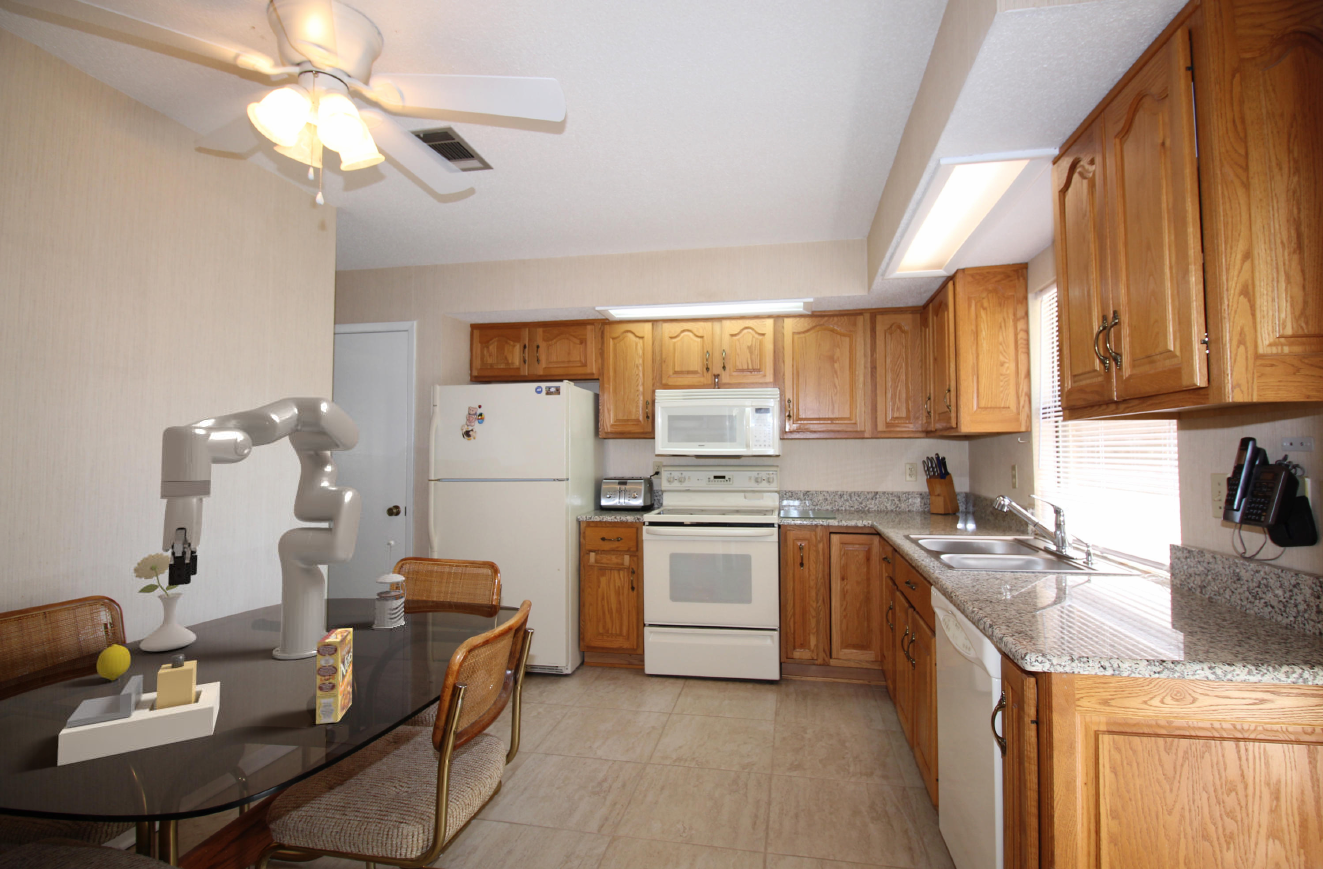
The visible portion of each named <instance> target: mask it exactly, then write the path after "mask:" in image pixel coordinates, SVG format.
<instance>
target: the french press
mask: <svg viewBox="0 0 1323 869" xmlns="http://www.w3.org/2000/svg"><path fill="white" fill-rule="evenodd" d="M394 545H395V541H394V540H390V541H388V542H387V546H389V548H390V549H389V550H390V552H389V557H390V558H389V560H390V561H389V573H386V574H383V575H380V576H379V577H377V578H376V579H375V580H374V581H375V583H377V584H389V586H391V585H392V584H394V585H395V587H399V589H400V590H398V589H396V590H391V589H389V590H383V591H379V592H377V593H376V596H377V597H376V598H375V601H374V602H375V603H374V604H375V605H374V607H375V609H374V624H373V625H372V626H373V627H374V628H393V627H397V626H400V625H404V624H405V622H406V621H405V620H404V619H405V618H404V617H405V616H404V614H405V611H404V610H405V609H404V606H405V600H406V597H407V588H406V584H405V582H404V581H405V580H406V578H405V577H404V576H403V575H401V574H398V573H392V563H391V562H392V546H394ZM402 583H403V587H404V592H403V590H402V587H401V585H402ZM397 584H398V585H397ZM403 593H404V595H403ZM397 597H398V599H397Z"/></svg>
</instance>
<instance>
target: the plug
mask: <svg viewBox="0 0 1323 869" xmlns="http://www.w3.org/2000/svg"><path fill="white" fill-rule="evenodd" d="M197 661H198V660H189V661H185V654H184V653H180V654H179V653H177V654H174V655H172V656H171V663H167V664H162V665H161V667H160V669H159V671H158V672H157V679H156V680H157V681H156V692H157V705H156V710H159V709H165V708H171V707H176V706H182V705H188V704H193V703H195V698H196V685H197V664H198V662H197Z"/></svg>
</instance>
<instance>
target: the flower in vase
mask: <svg viewBox="0 0 1323 869" xmlns="http://www.w3.org/2000/svg"><path fill="white" fill-rule="evenodd" d="M169 564H170V555H169V554H166V555H165V554H164V553H162V552H161V553H158V552H155V554H152V553H151V554H149V555H147V557H143V558H142V559H140V561H139V562H137V563H136V566H134V568H133V574H135V578H138V579H143V578H144V580H150V579H151V580H152V579H153V578H156V581H157V584H154V583H151V584H147V585H145V586H143V587H142V588H140V590H138V591H137V593H139V594H140V593H141V594H142V593H143V594H149V593H151V594H152V593H154V592H155V591H156V590H157V589H159V588H160V589H161V590H162V591H163V592H164V593H163V594H159V595H158V596H157V598H158V599H159V600H160V602H161V603H162V607H163V621H162V623H161V625H160V626H159V627H158V628H157V629H155V630H154V631H152V633H150V634H148V636H146V637H145V638H144V639H143V640H142V641H141V642H140V644H139V648H140V649H141V650H142V651H147V652H163V651H164V652H165V651H171V650H176V649H180V648H184V647H187V646H188V645H190V644H192V643H194V642H195V641H196V639H197V636H196V634H195V633H194V632H193V631H191V630H190V629H187V628H186V627H184V626H182V625H180V624H179V623H178V622H177V621H176V608H177V604H178V601H179V599H180V597H182V595H183V593H182V592H170V593H169V592H168V591H171V590H173V589H176V588H177V587H179V586H180V585H174V586H169V585H168V584H167V586H166V588H164V587H163V586H162V585H161V583H160V578H159V576H160V575H163V574H166V571H169Z"/></svg>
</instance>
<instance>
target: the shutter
mask: <svg viewBox="0 0 1323 869" xmlns="http://www.w3.org/2000/svg"><path fill="white" fill-rule="evenodd" d="M143 680H144V674H138V675H133V676H131V677H130V679H129V680H128V682H127V683H126V684H125V686H124V688H123V689H122V691H121V692H120V694H115V695H110V696H105V697H104V696H103V697H97V698H91V699H90V698H89V699H84V700H83V701H82V702H81V703H80V704H79V705H78V707H77V709H75V710H74V712H73V713H72V714H71V716H70V717H69V718H68V719H67V721H66V725H67V728H68V727H73V726H79V725H84V724H90V723H96V722H101V721H107V720H113V719H118V718H124V717H129V716H131V715H132V714H133V712H134V710H135V708H136V706H137V705H138V703H139V701H140V699H141V698H142V694H143V688H144V687H143V685H144V684H143V683H144V682H143Z"/></svg>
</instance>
